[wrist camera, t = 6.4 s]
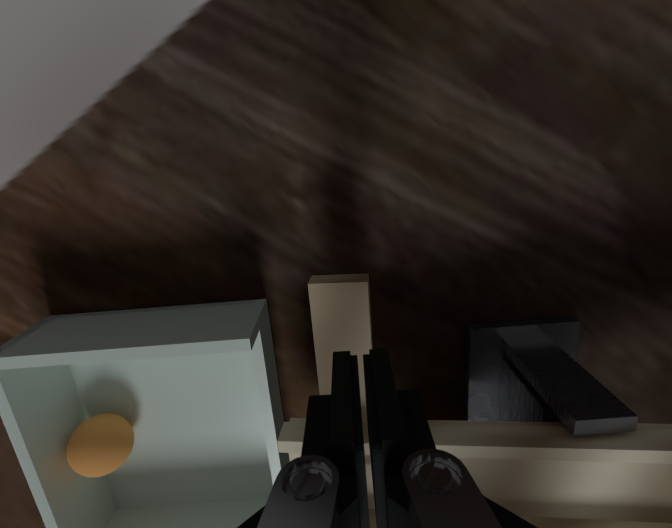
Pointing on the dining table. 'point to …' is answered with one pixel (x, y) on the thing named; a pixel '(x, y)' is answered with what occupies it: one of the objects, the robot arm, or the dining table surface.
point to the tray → (149, 413)
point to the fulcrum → (537, 378)
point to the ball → (100, 445)
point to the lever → (508, 440)
